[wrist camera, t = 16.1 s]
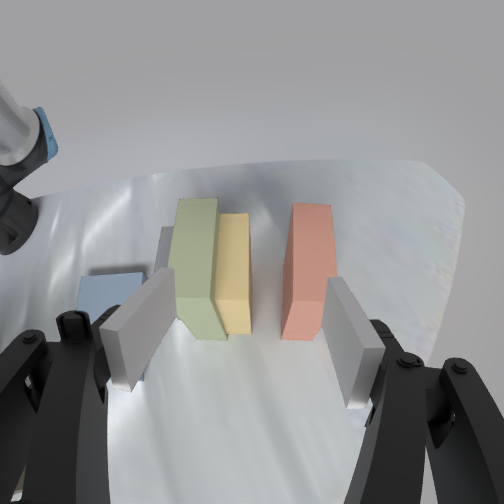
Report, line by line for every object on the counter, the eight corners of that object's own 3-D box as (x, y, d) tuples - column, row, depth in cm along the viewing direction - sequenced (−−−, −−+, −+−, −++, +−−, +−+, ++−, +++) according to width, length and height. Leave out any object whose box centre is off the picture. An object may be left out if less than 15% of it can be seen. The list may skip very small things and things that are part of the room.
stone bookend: (183, 272, 48) (162, 226, 36) (201, 272, 48) (184, 226, 36) (178, 319, 44) (151, 285, 32) (198, 320, 44) (176, 285, 32)
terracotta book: (283, 266, 48) (293, 202, 34) (311, 267, 48) (330, 204, 34) (281, 339, 42) (293, 300, 28) (311, 340, 42) (338, 302, 28)
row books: (202, 266, 48) (179, 198, 34) (251, 266, 48) (248, 196, 33) (196, 339, 42) (163, 297, 27) (251, 340, 42) (247, 298, 27)
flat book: (87, 281, 47) (81, 275, 45) (147, 277, 47) (142, 271, 45) (77, 376, 38) (70, 374, 37) (143, 381, 39) (138, 379, 37)
